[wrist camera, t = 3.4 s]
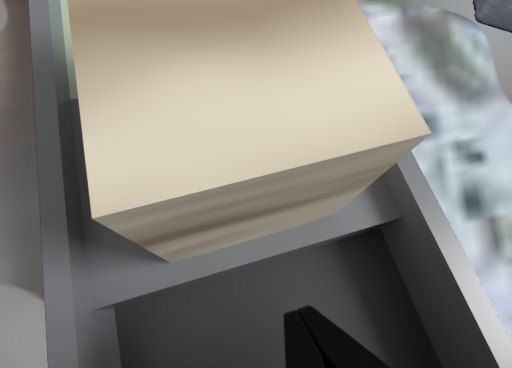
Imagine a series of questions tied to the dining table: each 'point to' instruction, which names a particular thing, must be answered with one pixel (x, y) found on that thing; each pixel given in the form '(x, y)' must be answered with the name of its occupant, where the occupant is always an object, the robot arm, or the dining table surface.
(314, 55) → the birch block
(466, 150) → the dining table surface
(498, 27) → the stone block
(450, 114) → the dining table surface
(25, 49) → the dining table surface
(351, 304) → the grey shallow rectangular tray
